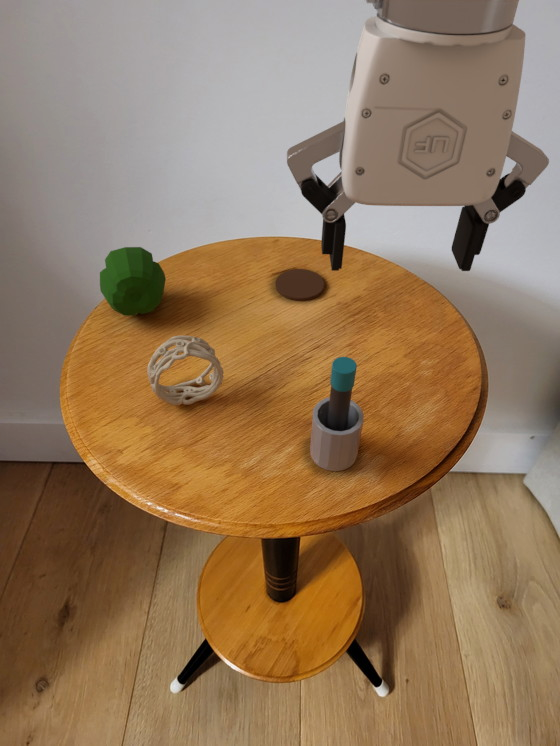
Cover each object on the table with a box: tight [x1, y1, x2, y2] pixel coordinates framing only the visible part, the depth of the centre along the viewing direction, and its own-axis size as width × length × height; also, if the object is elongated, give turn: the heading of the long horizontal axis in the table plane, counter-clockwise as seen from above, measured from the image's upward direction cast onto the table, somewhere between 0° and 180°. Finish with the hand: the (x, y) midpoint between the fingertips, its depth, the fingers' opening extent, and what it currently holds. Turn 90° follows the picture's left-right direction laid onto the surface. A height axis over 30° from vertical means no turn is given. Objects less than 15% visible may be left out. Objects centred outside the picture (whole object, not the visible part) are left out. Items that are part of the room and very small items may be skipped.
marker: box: [327, 356, 358, 431], centre depth 55 cm, size 2×2×12 cm
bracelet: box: [146, 335, 224, 406], centre depth 63 cm, size 4×8×8 cm, turn 112°
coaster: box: [274, 268, 325, 302], centre depth 81 cm, size 7×7×1 cm
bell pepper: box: [99, 246, 167, 317], centre depth 75 cm, size 8×8×10 cm
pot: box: [309, 396, 365, 472], centre depth 58 cm, size 5×5×6 cm
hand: (397, 260), depth 43 cm, fingers open, 9 cm apart
